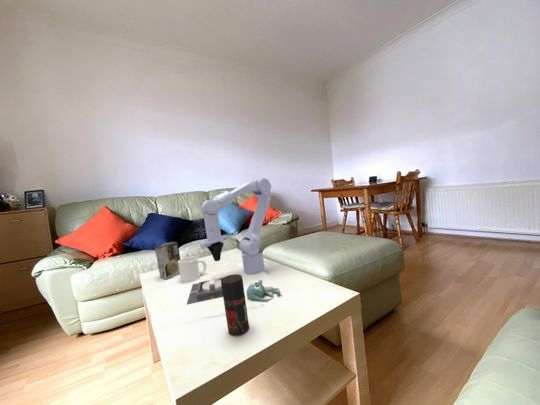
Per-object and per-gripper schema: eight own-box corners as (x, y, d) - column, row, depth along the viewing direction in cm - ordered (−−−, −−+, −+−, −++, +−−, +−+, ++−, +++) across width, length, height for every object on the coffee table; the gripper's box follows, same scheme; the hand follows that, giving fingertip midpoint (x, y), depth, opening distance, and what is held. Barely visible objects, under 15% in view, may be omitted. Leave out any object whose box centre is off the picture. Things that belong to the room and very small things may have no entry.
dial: (203, 286, 97) (201, 277, 97) (223, 282, 99) (221, 273, 98) (202, 298, 86) (200, 288, 86) (224, 293, 88) (222, 283, 88)
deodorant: (229, 324, 70) (222, 276, 69) (249, 321, 70) (242, 273, 69) (227, 337, 64) (219, 284, 63) (249, 334, 64) (241, 281, 63)
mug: (205, 273, 116) (202, 253, 115) (210, 278, 109) (207, 256, 108) (180, 281, 110) (176, 260, 109) (183, 287, 102) (179, 264, 102)
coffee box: (176, 271, 125) (171, 241, 123) (183, 272, 121) (178, 242, 120) (159, 278, 118) (154, 246, 116) (166, 279, 114) (161, 247, 112)
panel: (235, 278, 105) (234, 272, 104) (237, 296, 87) (236, 289, 87) (193, 286, 101) (192, 280, 101) (187, 307, 84) (185, 300, 83)
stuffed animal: (284, 285, 79) (248, 286, 77) (283, 306, 80) (247, 308, 77) (277, 274, 90) (245, 274, 87) (275, 292, 90) (244, 293, 88)
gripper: (207, 232, 90) (212, 267, 91) (231, 225, 103) (235, 255, 104) (194, 232, 94) (199, 266, 95) (219, 225, 106) (223, 254, 107)
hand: (217, 260), depth 99 cm, fingers closed
